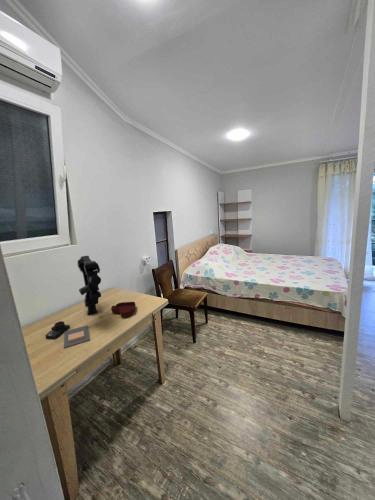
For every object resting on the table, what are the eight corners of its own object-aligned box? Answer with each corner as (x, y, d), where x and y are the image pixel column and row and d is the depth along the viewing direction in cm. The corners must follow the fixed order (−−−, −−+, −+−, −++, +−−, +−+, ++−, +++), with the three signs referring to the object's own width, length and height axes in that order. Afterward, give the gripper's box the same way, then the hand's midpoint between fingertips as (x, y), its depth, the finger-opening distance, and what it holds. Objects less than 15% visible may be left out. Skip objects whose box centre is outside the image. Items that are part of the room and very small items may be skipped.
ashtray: (143, 310, 152) (142, 304, 151) (124, 320, 139) (124, 313, 138) (128, 304, 163) (127, 298, 162) (109, 313, 150) (108, 306, 149)
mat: (64, 332, 127) (64, 331, 127) (87, 326, 133) (87, 325, 133) (64, 348, 112) (63, 347, 112) (90, 340, 118) (90, 339, 118)
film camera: (54, 332, 118) (41, 325, 121) (53, 343, 119) (41, 336, 122) (74, 321, 130) (62, 315, 133) (72, 332, 132) (61, 326, 135)
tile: (68, 334, 120) (68, 340, 115) (83, 330, 124) (84, 335, 119) (68, 337, 121) (68, 342, 115) (83, 333, 124) (84, 338, 119)
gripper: (78, 279, 137) (81, 301, 140) (79, 288, 121) (83, 312, 124) (96, 276, 142) (99, 297, 145) (99, 284, 126) (102, 307, 129)
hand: (95, 303), depth 136 cm, fingers closed
